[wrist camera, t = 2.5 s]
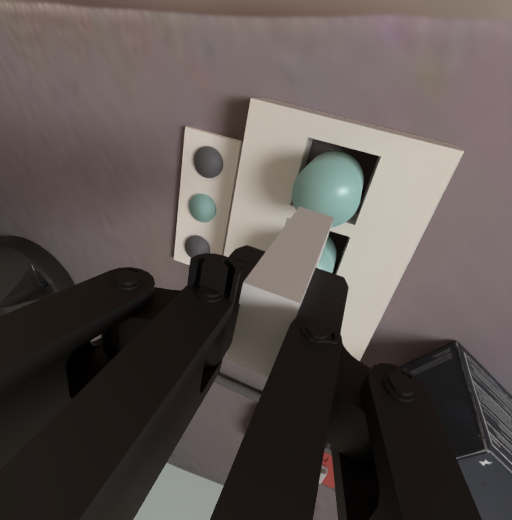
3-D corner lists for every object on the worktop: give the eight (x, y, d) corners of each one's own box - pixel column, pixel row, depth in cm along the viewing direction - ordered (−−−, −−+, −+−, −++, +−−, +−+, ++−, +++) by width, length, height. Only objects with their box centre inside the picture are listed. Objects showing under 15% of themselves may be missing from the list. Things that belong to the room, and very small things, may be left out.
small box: (392, 368, 32) (398, 473, 23) (456, 337, 29) (490, 446, 20) (465, 439, 33) (497, 567, 24) (535, 417, 30) (601, 556, 21)
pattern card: (176, 257, 35) (172, 260, 34) (188, 126, 28) (183, 126, 28) (220, 272, 34) (217, 277, 33) (243, 141, 27) (239, 142, 27)
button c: (297, 199, 26) (285, 216, 22) (313, 143, 23) (301, 152, 20) (351, 216, 25) (347, 236, 21) (372, 159, 23) (371, 171, 19)
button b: (279, 266, 28) (265, 289, 25) (291, 221, 26) (278, 240, 23) (327, 282, 28) (320, 309, 24) (344, 237, 26) (338, 260, 22)
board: (224, 303, 35) (212, 319, 33) (263, 97, 26) (250, 97, 23) (355, 352, 33) (352, 374, 30) (454, 144, 23) (464, 151, 20)
